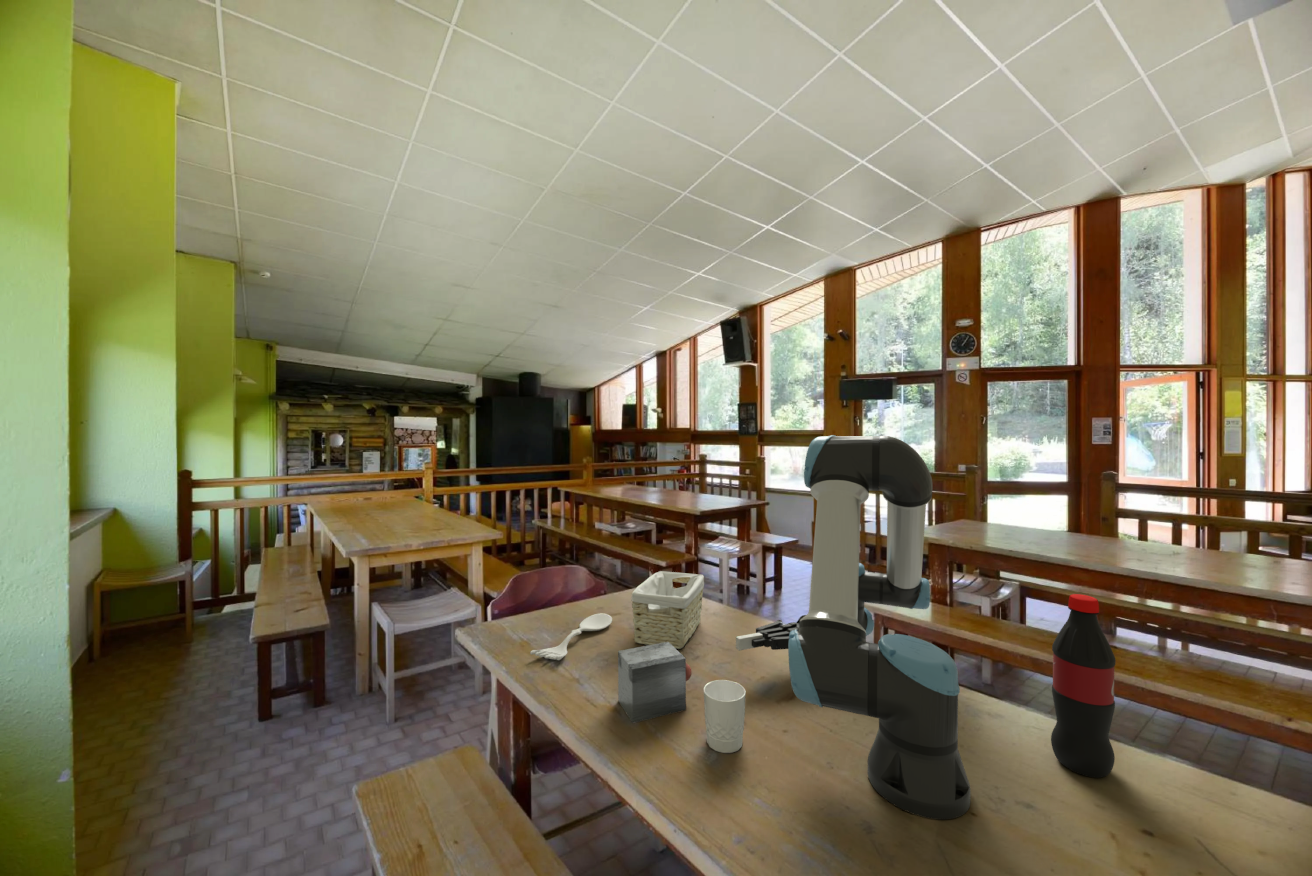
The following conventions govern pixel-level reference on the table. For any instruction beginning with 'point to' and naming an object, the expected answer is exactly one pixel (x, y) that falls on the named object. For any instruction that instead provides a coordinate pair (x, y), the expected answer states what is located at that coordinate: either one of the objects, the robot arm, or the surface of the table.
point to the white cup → (724, 715)
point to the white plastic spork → (587, 624)
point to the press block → (651, 681)
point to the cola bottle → (1083, 691)
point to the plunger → (688, 672)
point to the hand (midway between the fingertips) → (737, 643)
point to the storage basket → (667, 608)
